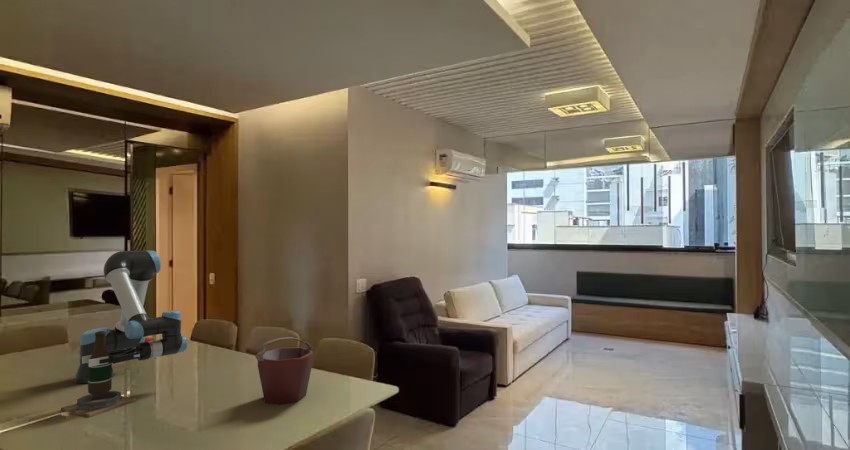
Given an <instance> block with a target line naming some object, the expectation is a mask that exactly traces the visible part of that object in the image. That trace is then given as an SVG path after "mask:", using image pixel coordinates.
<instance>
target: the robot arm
mask: <svg viewBox="0 0 850 450" xmlns="http://www.w3.org/2000/svg"><path fill="white" fill-rule="evenodd" d="M161 262H162V261H161V258H160V255H159V254H158V253H157V252H156V251H155V250H147V249H144V250H120V251H116V252H115V253H112V254H111V255H110V256H109V257H108V258H107V260H106V261H105V263H104V266H103V275H104V278H105V280H106V282H107V283H110V285H111V288H112V290H113V292H114V294H115V296H116V299H117V302H118V303H119V305H120V307H121V309H122V310H121V315H120V318H119V319H120V320H119V321H117V322H116V323H115V327H114V329H113V328H112V329H110V328H109V327H106V326H105V327H99V328H98V327H97V328H94V329H89V330H87V331H84V332H83V333H81V335H80V337H79V338H80V340H79V366H78V368H77V371H76V373H75V376H74V382H75V383H76V384H88V363H89V367H92V366H97V365H102V364H107V363H108V362H109V363H112V365H113V364H114V365H115V364H118V363H123V362H127V361H131V360H138V361H145V360H149V359H156V360H157V358H160V357H164V356H165V357H166V356H170V355H176V354H179V353H183V352H185V351H186V350H187V349H188V338H187V337H186V336H185V335H182V314H181V311H179V310H166V311H163V312H162V313H161V316H157V317H149V316H148V314H147V312H146V310H145V308H144V304H145V300H146V295H147V291H148V286H149V283H150V281H152V280H153V279H154V275H156V274H159V273H160V271H161V267H162V263H161ZM99 331H105V332H106V334H105V340H106V350H107V352H108V353H109V354H110V355H109V356H106V357H101V358H95V359H90V357H91V356H92V354H93V353H94V349H95V337H96V336H95V333H96V332H99ZM158 335H161V337H162V338H159V339H154V340H153V341H149V342H144V340H145V337H146V336H152V337H153V336H158ZM89 359H90V360H89ZM113 377H114V369H113V368H112V378H113Z"/></svg>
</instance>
